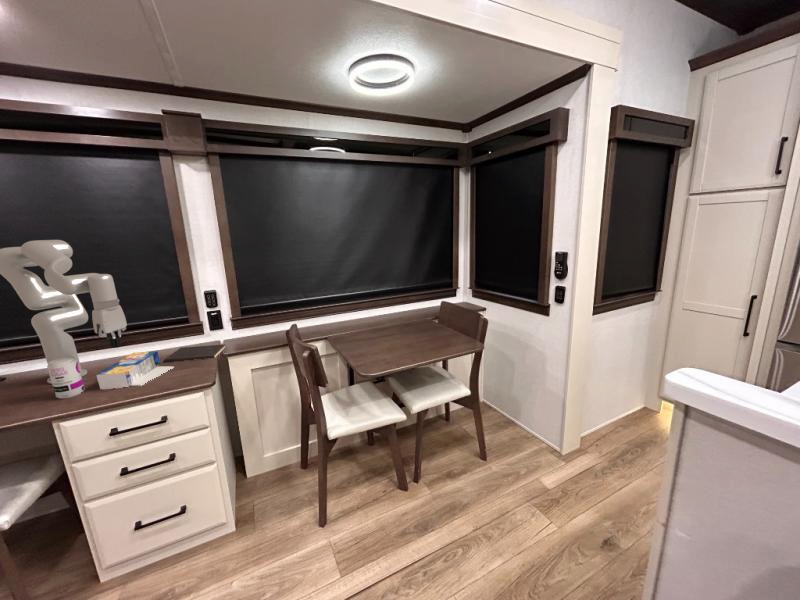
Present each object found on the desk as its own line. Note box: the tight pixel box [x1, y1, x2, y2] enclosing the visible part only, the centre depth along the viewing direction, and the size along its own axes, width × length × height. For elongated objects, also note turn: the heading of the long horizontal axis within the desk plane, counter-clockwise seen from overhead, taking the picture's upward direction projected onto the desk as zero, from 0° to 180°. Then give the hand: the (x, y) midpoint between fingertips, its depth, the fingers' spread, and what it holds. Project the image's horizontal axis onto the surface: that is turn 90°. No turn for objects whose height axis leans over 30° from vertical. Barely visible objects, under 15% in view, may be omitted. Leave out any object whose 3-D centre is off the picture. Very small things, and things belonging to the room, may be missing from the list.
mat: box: [130, 365, 175, 387], centre depth 142 cm, size 18×18×1 cm
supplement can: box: [46, 357, 86, 400], centre depth 125 cm, size 8×8×15 cm
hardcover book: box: [164, 343, 226, 363], centre depth 165 cm, size 16×23×2 cm
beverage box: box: [96, 350, 162, 390], centre depth 141 cm, size 7×11×22 cm
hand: (116, 346), depth 131 cm, fingers closed
